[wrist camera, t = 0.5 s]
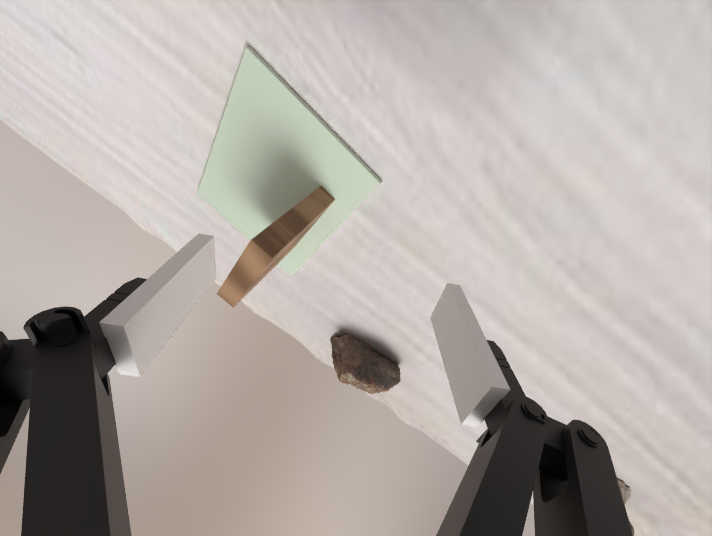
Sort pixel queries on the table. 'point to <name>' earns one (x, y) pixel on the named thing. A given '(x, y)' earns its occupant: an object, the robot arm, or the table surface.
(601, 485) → the robot arm
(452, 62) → the table surface
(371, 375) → the rock
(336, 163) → the mat
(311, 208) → the board
